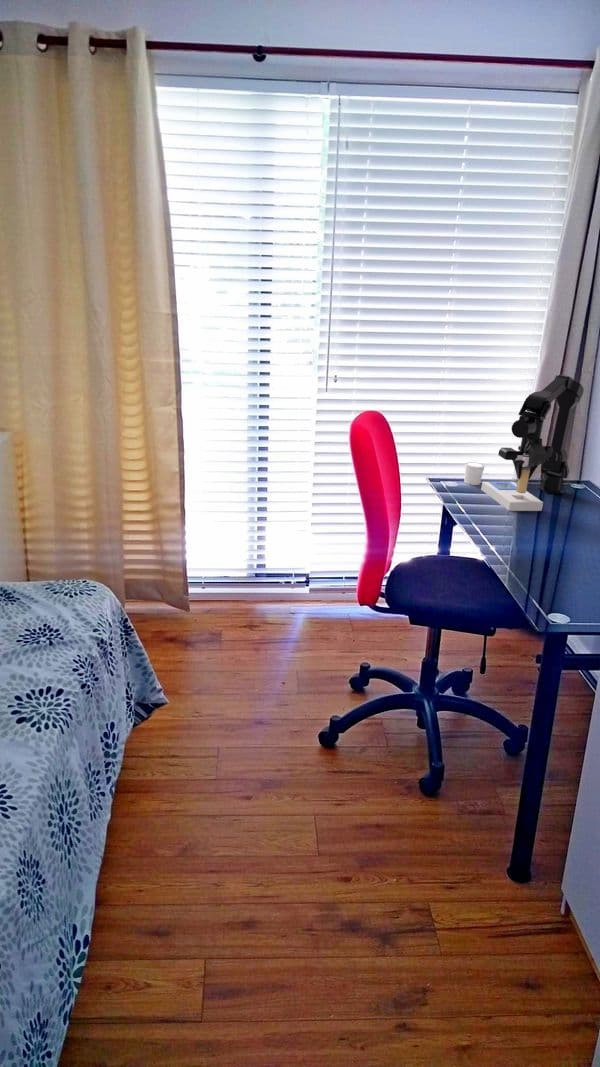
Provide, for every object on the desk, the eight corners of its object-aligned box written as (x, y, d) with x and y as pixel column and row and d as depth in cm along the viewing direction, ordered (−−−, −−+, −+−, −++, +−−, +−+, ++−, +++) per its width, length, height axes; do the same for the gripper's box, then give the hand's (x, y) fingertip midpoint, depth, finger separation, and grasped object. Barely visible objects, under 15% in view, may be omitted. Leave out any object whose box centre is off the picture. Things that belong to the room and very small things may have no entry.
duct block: (511, 489, 281) (513, 481, 280) (541, 510, 261) (543, 501, 260) (481, 489, 279) (482, 480, 277) (508, 510, 259) (510, 501, 258)
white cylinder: (458, 480, 287) (461, 462, 285) (473, 479, 290) (476, 461, 288) (470, 486, 282) (473, 467, 279) (485, 485, 284) (488, 466, 282)
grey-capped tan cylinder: (522, 490, 264) (527, 464, 261) (527, 493, 262) (532, 467, 258) (514, 490, 264) (519, 464, 261) (518, 493, 261) (523, 467, 258)
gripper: (517, 439, 246) (508, 486, 252) (570, 440, 250) (560, 486, 256) (501, 430, 256) (493, 475, 262) (553, 431, 260) (544, 476, 266)
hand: (523, 478), depth 261 cm, fingers closed on grey-capped tan cylinder, 3 cm apart
